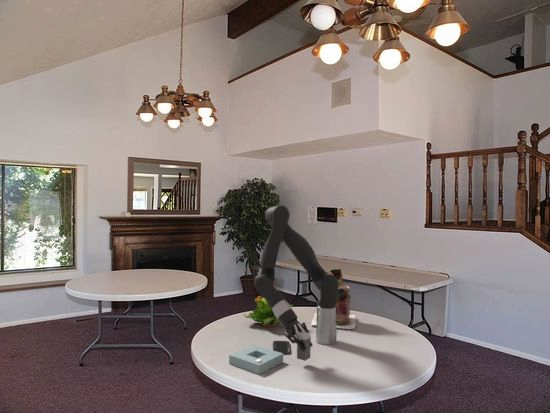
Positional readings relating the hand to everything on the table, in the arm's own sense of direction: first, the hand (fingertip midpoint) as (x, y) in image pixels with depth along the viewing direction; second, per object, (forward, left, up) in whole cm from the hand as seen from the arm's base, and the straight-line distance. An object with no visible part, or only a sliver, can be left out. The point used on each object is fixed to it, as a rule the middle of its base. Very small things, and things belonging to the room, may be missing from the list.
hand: (307, 348), depth 157 cm
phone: (+8, -21, -8) cm, 24 cm away
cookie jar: (-29, -59, -8) cm, 66 cm away
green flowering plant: (+8, -57, -8) cm, 58 cm away
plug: (+1, -1, -5) cm, 5 cm away
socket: (+21, -5, -7) cm, 22 cm away
